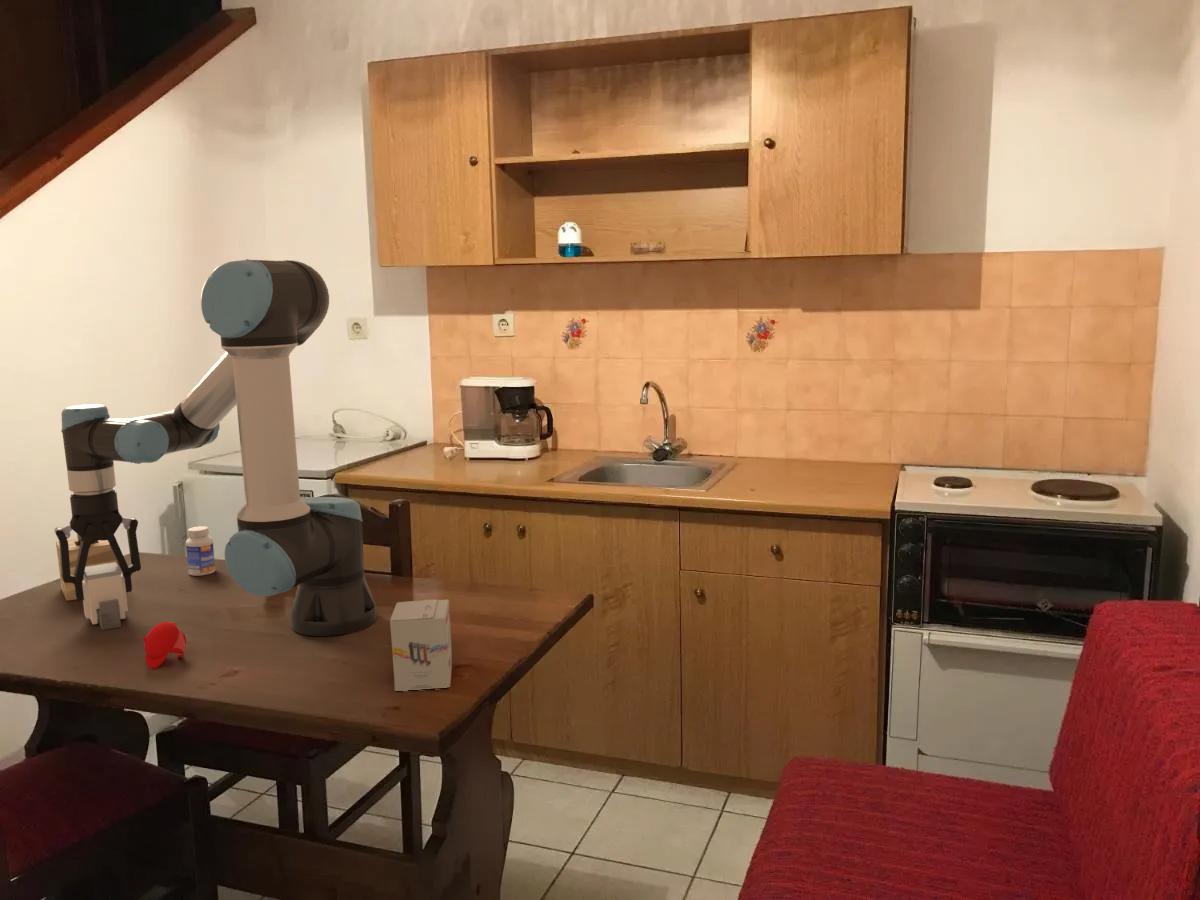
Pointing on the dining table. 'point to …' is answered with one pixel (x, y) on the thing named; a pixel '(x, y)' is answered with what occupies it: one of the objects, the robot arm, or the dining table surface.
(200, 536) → the pill bottle
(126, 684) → the dining table surface
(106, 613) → the rail
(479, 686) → the dining table surface
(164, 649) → the cap
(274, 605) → the dining table surface
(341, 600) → the robot arm
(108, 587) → the block
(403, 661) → the ink box
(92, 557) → the wooden red button box
